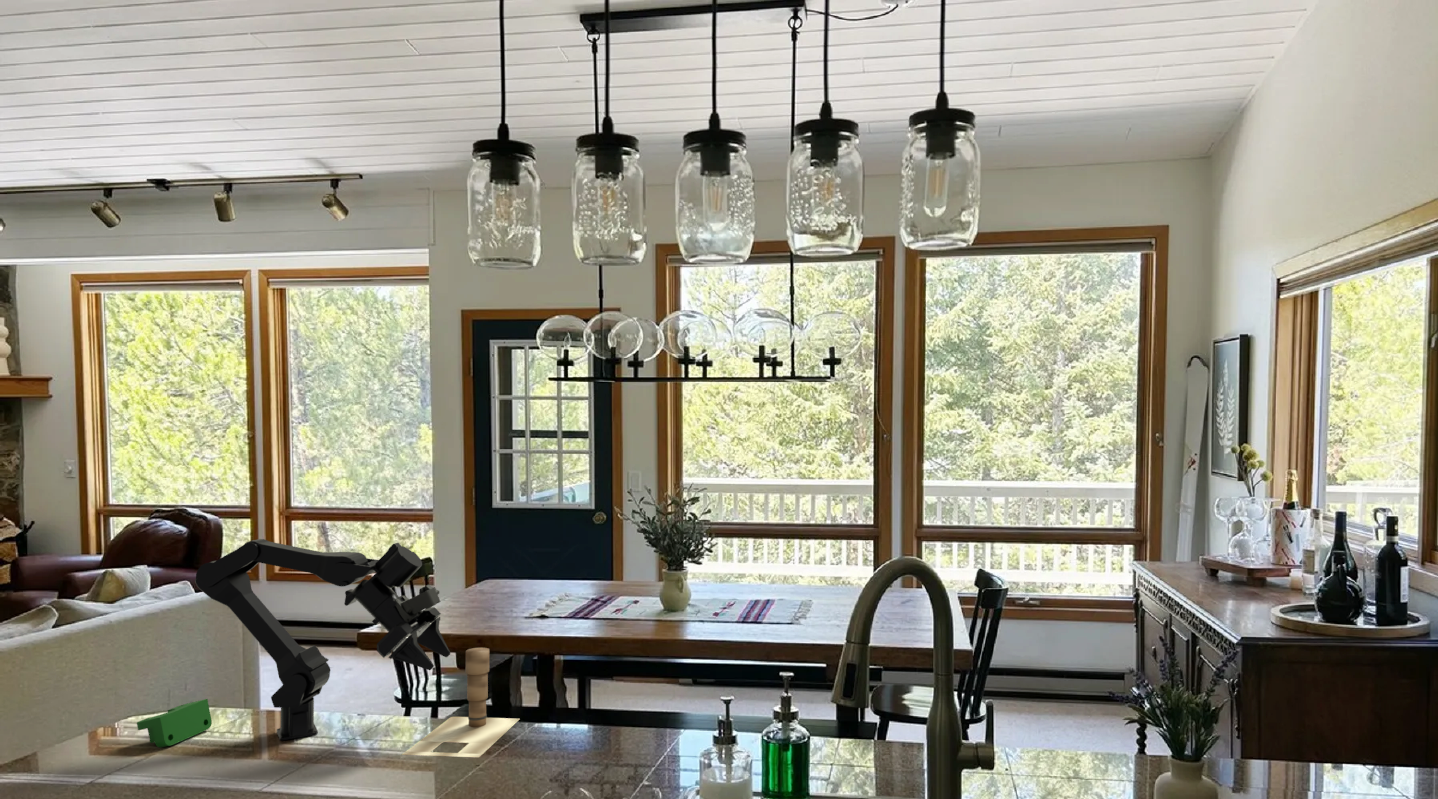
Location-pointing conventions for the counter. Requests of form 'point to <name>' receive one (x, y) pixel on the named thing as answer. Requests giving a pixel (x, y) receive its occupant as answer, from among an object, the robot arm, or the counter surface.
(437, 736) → the board
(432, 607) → the robot arm
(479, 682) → the peg
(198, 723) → the green mounting bracket
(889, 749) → the counter surface
